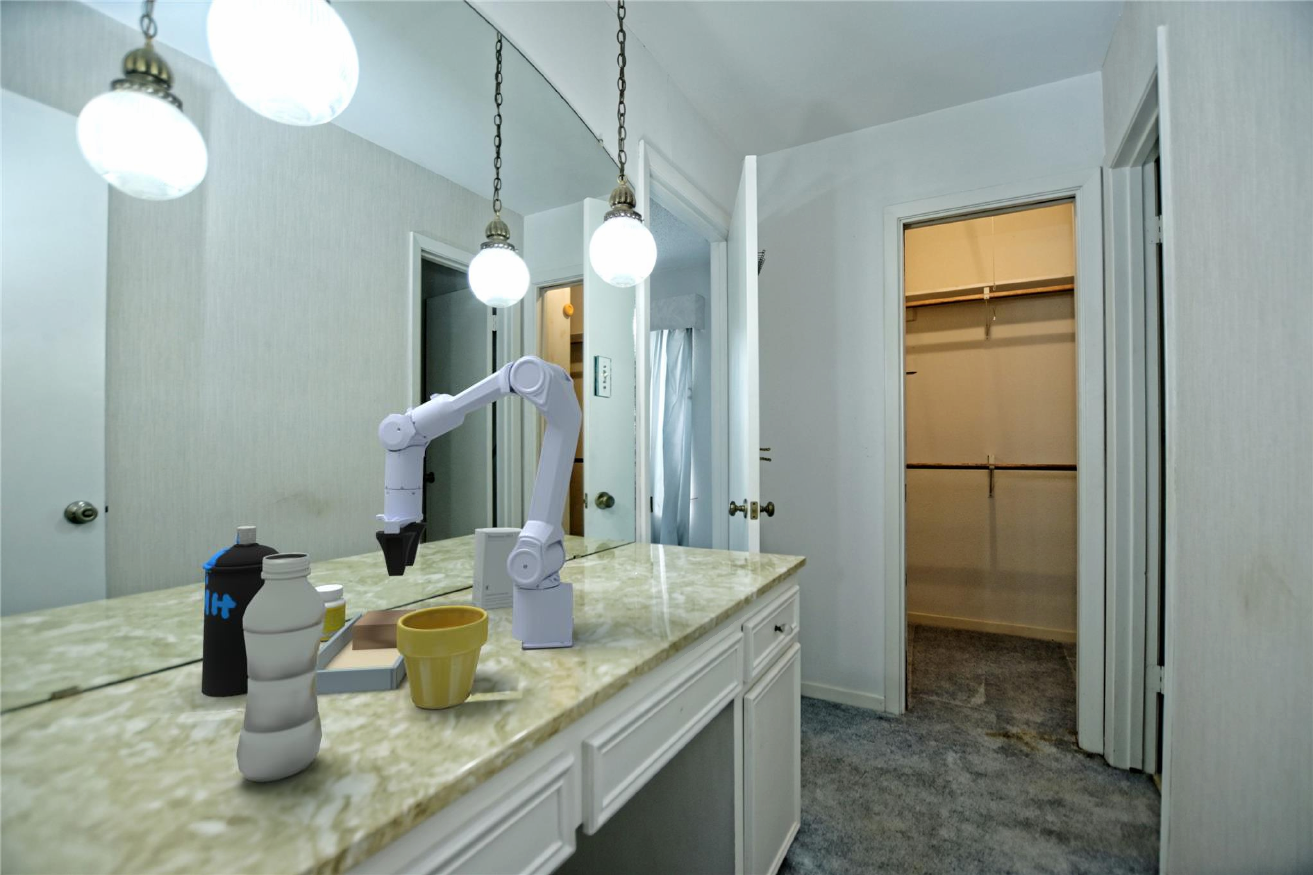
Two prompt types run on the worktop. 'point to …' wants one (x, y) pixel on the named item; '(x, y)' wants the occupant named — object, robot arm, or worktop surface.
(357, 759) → the worktop surface
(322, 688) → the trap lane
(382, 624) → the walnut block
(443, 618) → the plant pot
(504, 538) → the skincare box
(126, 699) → the worktop surface
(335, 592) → the supplement bottle
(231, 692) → the aerosol can
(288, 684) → the plastic bottle
